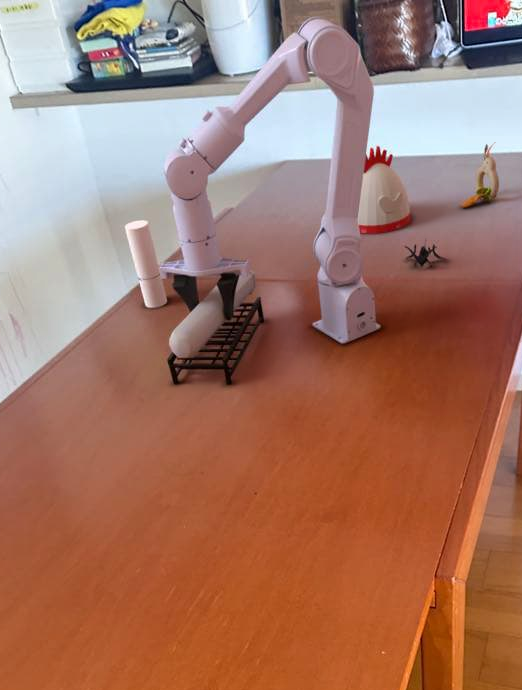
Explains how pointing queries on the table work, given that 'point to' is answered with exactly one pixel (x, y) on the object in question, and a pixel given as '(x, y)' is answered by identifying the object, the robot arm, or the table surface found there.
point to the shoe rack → (223, 344)
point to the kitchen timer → (382, 196)
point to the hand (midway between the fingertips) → (214, 318)
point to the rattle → (482, 192)
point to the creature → (423, 255)
